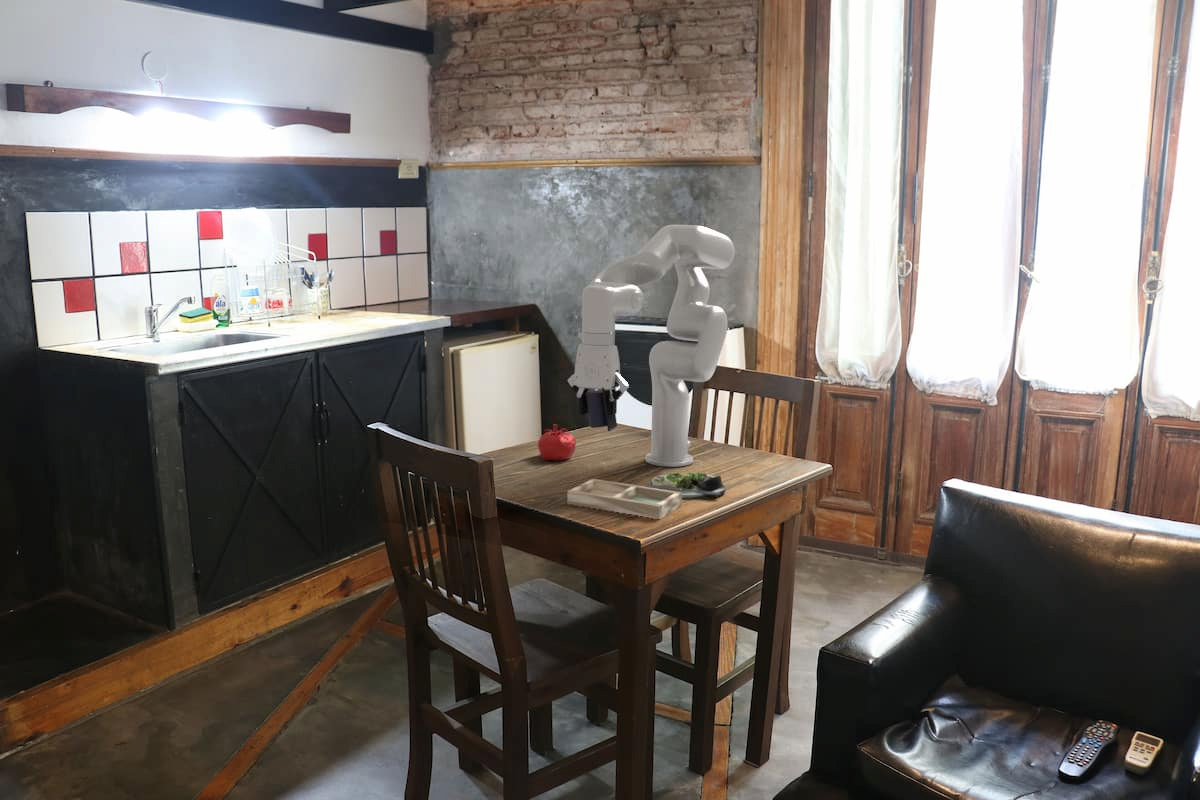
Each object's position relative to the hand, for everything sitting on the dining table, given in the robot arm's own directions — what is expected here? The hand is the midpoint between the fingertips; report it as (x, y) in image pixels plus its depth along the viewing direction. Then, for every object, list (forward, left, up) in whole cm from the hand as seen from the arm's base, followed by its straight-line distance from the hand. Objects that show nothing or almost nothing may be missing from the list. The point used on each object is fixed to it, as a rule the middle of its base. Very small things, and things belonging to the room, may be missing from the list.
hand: (597, 414), depth 231 cm
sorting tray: (+9, +12, -18) cm, 23 cm away
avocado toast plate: (-10, +20, -18) cm, 29 cm away
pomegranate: (-19, -22, -18) cm, 34 cm away
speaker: (0, +1, -3) cm, 3 cm away
